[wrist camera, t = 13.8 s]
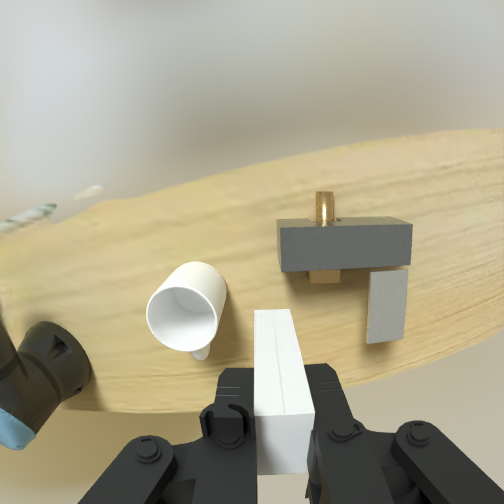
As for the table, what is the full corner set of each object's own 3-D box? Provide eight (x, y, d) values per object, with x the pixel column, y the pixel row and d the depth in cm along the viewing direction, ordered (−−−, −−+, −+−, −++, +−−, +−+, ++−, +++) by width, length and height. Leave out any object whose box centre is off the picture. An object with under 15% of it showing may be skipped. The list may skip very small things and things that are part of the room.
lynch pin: (335, 277, 42) (339, 282, 40) (307, 278, 42) (310, 283, 40) (337, 191, 39) (342, 192, 37) (307, 191, 39) (310, 192, 37)
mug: (237, 334, 44) (231, 374, 34) (184, 339, 45) (166, 378, 35) (221, 255, 42) (208, 280, 32) (164, 264, 42) (137, 290, 32)
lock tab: (365, 341, 35) (367, 343, 35) (368, 271, 35) (370, 272, 34) (400, 337, 35) (402, 339, 35) (405, 268, 34) (407, 269, 34)
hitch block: (277, 256, 41) (281, 272, 35) (276, 219, 40) (280, 227, 33) (388, 251, 41) (410, 264, 34) (390, 216, 40) (412, 224, 33)
